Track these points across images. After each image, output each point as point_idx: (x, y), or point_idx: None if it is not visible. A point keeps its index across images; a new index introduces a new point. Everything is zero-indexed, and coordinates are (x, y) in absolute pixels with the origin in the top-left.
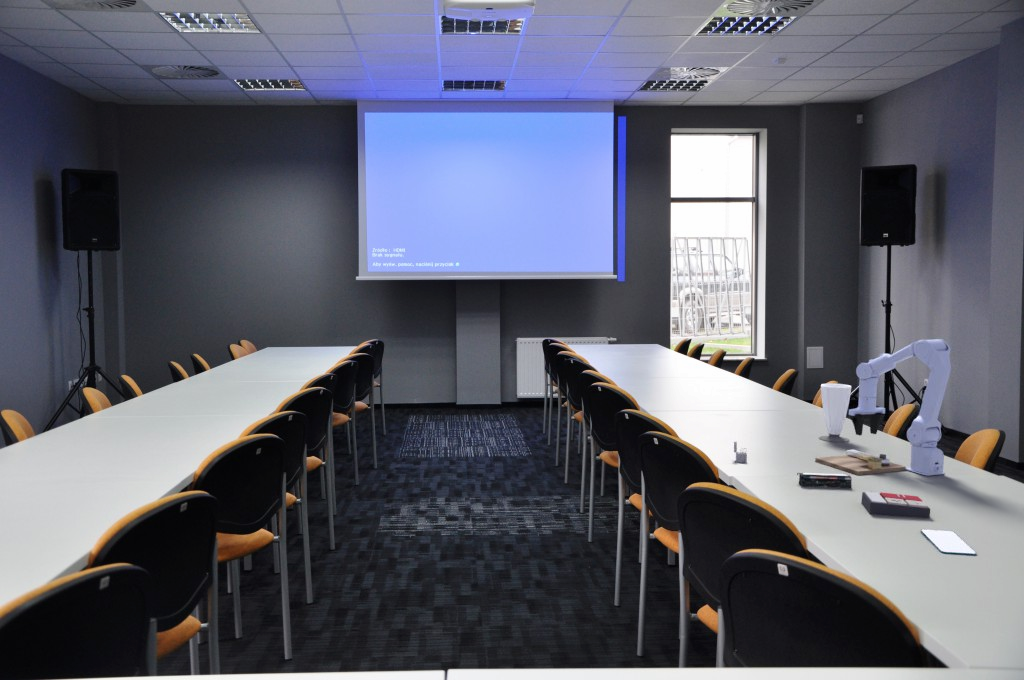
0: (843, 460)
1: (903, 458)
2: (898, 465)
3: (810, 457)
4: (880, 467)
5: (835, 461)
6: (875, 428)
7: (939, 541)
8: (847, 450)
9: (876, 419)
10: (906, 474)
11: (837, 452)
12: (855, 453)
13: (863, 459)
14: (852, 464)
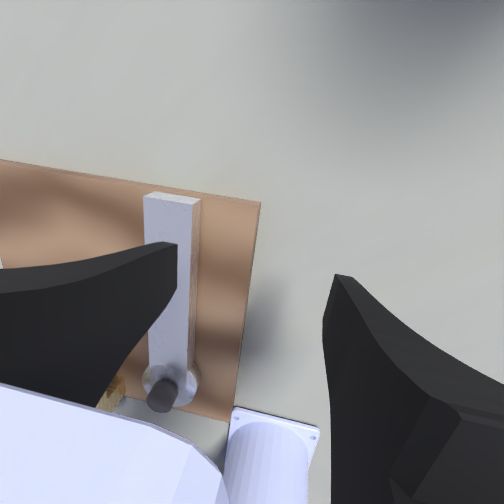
0: (72, 258)
1: (436, 323)
2: (221, 403)
3: (4, 75)
4: (120, 395)
5: (30, 252)
6: (329, 358)
7: None
8: (143, 203)
9: (338, 475)
10: (189, 429)
11: (237, 33)
12: None
13: None
14: None
